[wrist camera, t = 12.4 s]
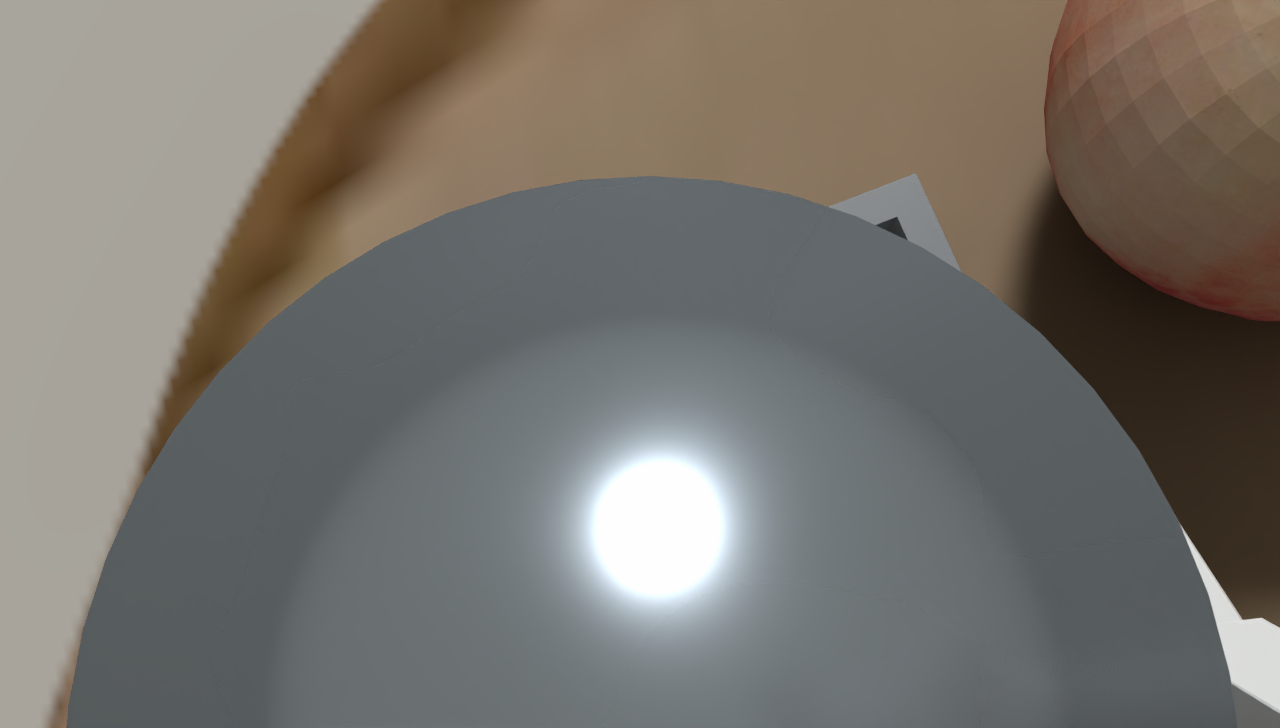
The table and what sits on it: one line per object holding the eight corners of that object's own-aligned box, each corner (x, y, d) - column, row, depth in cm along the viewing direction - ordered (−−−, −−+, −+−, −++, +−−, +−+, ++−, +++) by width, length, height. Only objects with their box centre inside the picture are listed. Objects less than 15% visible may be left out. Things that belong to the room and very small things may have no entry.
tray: (896, 221, 22) (915, 173, 20) (1186, 859, 20) (1248, 893, 17) (304, 449, 22) (251, 429, 20) (510, 1119, 20) (478, 1189, 17)
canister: (799, 429, 17) (938, 25, 6) (937, 764, 16) (1478, 1141, 4) (483, 550, 17) (-48, 399, 6) (598, 895, 16) (237, 1621, 4)
